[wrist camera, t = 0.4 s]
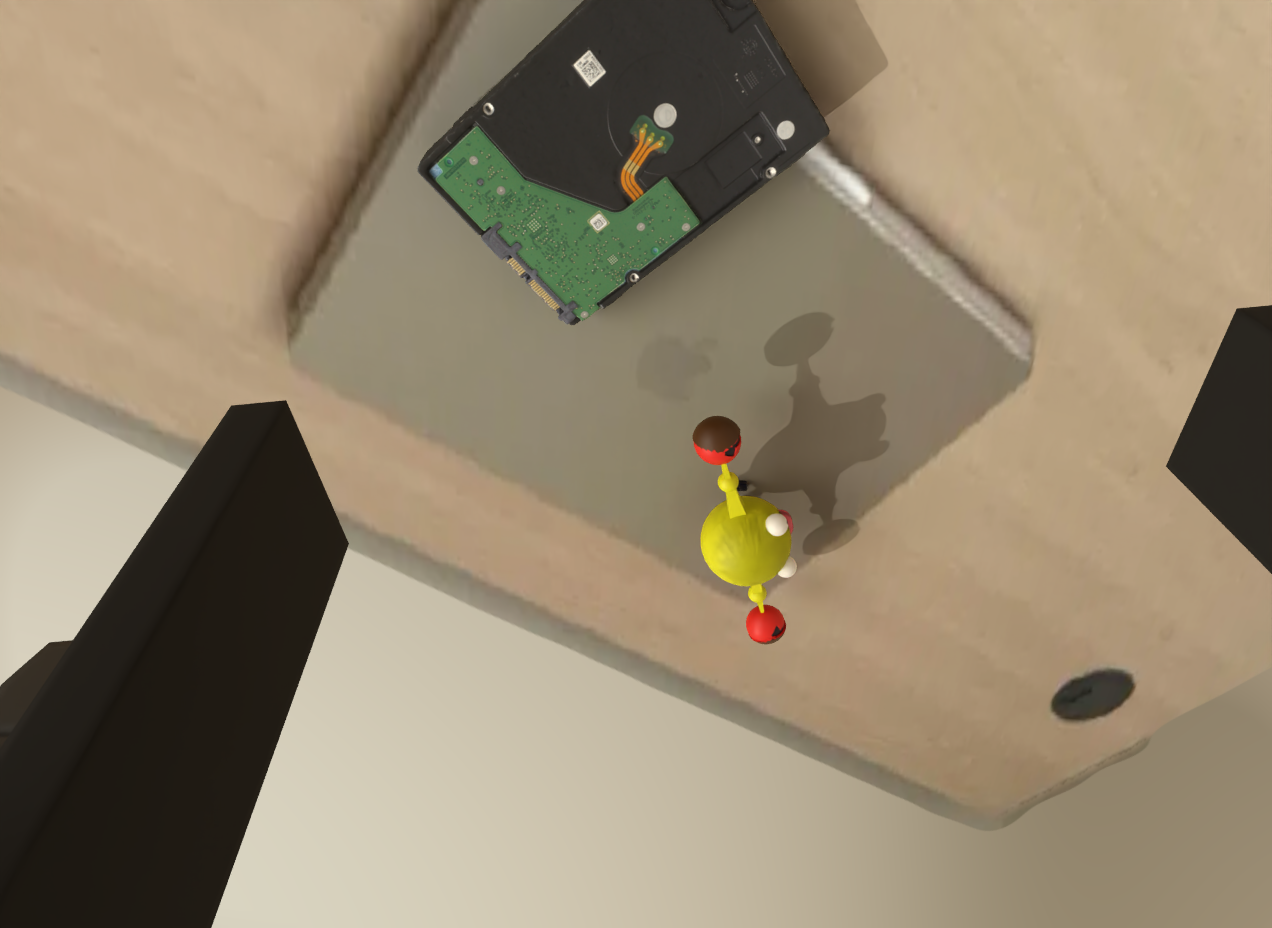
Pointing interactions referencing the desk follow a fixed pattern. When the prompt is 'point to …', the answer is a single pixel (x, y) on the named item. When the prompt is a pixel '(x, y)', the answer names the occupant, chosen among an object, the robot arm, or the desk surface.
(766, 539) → the toy figure
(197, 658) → the robot arm
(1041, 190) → the desk surface
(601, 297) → the disk drive
